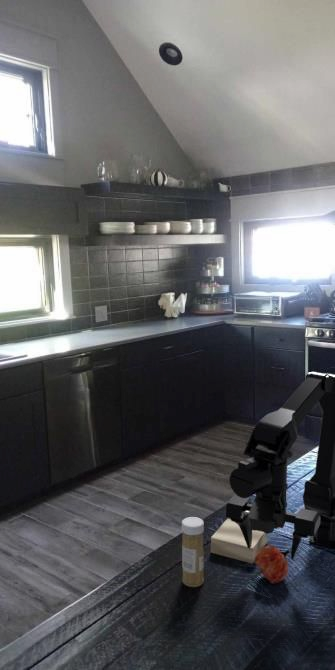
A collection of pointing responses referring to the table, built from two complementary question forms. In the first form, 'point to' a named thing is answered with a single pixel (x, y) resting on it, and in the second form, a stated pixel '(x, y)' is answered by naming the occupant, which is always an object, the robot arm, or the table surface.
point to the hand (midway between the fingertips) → (270, 552)
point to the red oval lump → (272, 563)
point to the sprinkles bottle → (192, 551)
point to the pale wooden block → (236, 542)
